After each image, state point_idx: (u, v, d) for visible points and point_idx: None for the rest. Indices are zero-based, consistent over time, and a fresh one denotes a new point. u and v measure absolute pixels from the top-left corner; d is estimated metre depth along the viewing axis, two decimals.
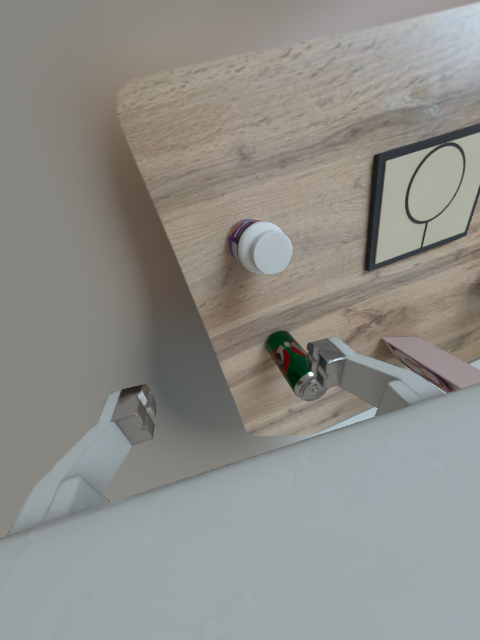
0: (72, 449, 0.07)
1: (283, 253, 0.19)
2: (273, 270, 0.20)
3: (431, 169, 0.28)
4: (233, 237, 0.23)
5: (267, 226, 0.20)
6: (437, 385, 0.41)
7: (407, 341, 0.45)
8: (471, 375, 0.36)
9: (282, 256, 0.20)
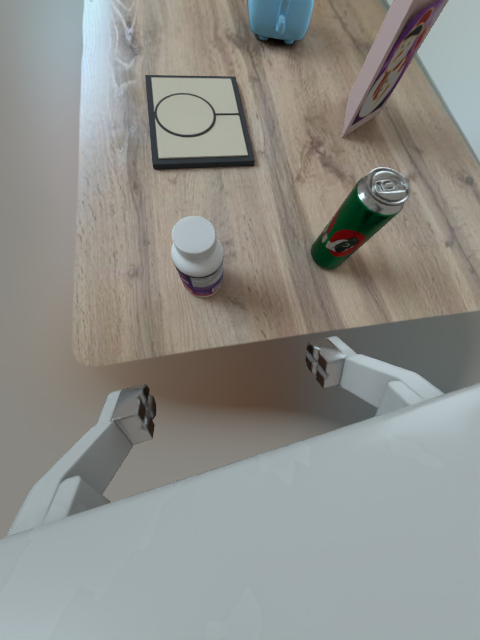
0: (72, 449, 0.07)
1: (195, 224, 0.19)
2: (211, 235, 0.19)
3: (171, 120, 0.33)
4: (189, 284, 0.24)
5: (174, 244, 0.21)
6: (420, 39, 0.30)
7: (350, 105, 0.37)
8: None
9: (198, 225, 0.19)
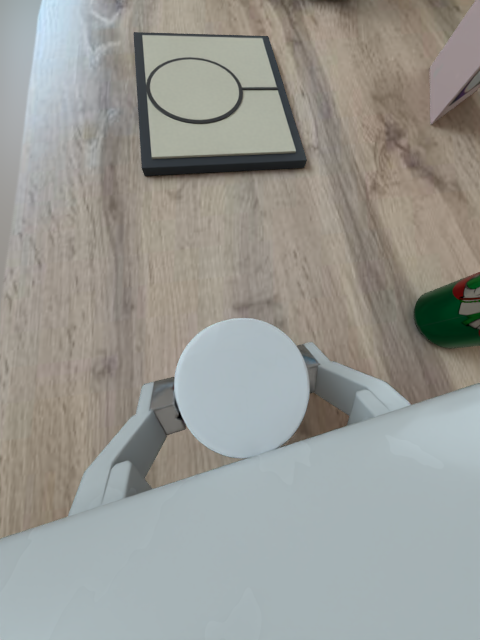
0: (116, 436, 0.07)
1: (248, 346, 0.06)
2: (298, 384, 0.06)
3: (173, 97, 0.21)
4: None
5: None
6: None
7: (444, 75, 0.24)
8: None
9: (256, 351, 0.06)
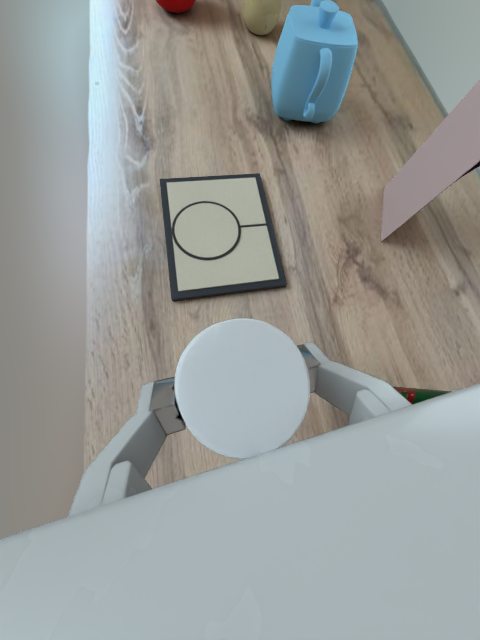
0: (116, 436, 0.07)
1: (248, 347, 0.06)
2: (298, 384, 0.06)
3: (191, 239, 0.29)
4: None
5: None
6: None
7: (390, 205, 0.33)
8: (471, 118, 0.22)
9: (256, 351, 0.06)
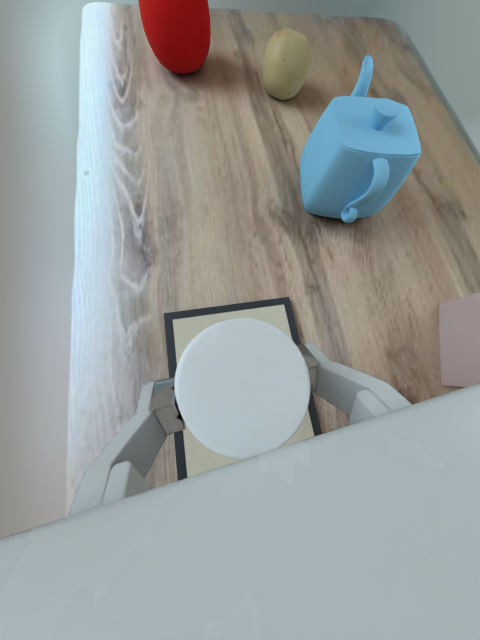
0: (116, 436, 0.07)
1: (248, 346, 0.06)
2: (298, 384, 0.06)
3: None
4: None
5: None
6: None
7: (454, 340, 0.26)
8: None
9: (256, 351, 0.06)
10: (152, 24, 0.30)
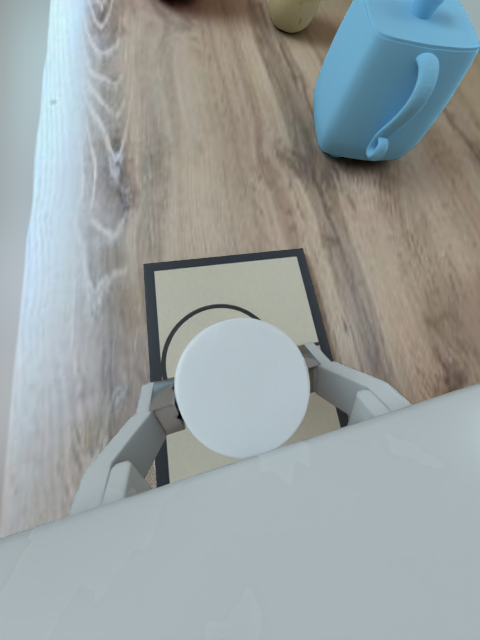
0: (116, 436, 0.07)
1: (248, 346, 0.06)
2: (298, 384, 0.06)
3: None
4: None
5: None
6: None
7: None
8: None
9: (256, 351, 0.06)
10: None
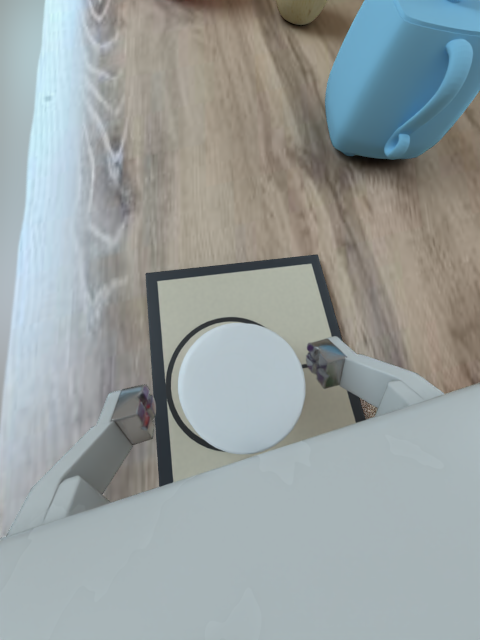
0: (72, 449, 0.07)
1: (247, 350, 0.07)
2: (294, 385, 0.06)
3: None
4: None
5: None
6: None
7: None
8: None
9: (255, 354, 0.07)
10: None
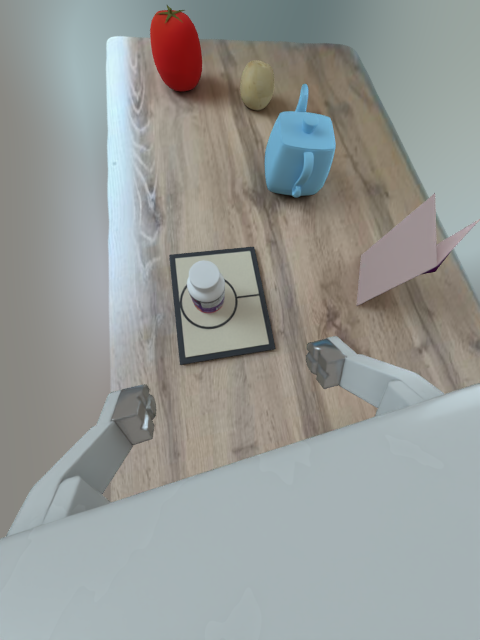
0: (72, 449, 0.07)
1: (205, 266, 0.26)
2: (216, 275, 0.26)
3: (196, 310, 0.35)
4: (199, 306, 0.31)
5: (189, 278, 0.28)
6: None
7: (365, 275, 0.39)
8: (419, 231, 0.28)
9: (207, 267, 0.26)
10: (160, 59, 0.42)
